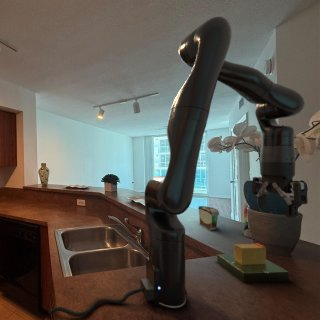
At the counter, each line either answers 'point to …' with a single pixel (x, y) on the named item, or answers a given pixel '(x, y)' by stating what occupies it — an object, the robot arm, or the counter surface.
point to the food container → (208, 217)
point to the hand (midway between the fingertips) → (276, 212)
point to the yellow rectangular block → (250, 254)
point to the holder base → (253, 270)
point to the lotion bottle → (246, 229)
